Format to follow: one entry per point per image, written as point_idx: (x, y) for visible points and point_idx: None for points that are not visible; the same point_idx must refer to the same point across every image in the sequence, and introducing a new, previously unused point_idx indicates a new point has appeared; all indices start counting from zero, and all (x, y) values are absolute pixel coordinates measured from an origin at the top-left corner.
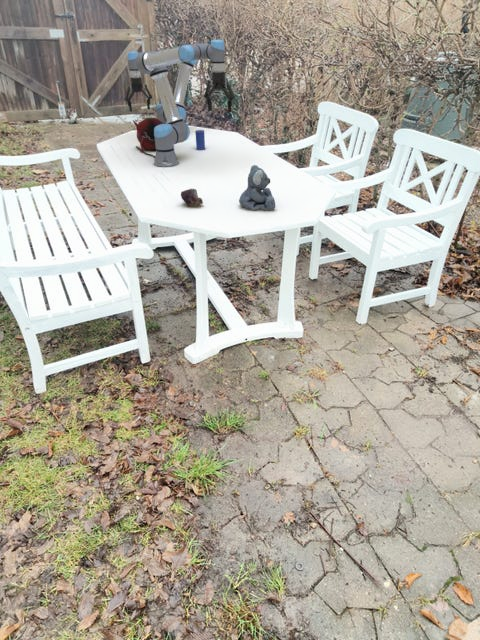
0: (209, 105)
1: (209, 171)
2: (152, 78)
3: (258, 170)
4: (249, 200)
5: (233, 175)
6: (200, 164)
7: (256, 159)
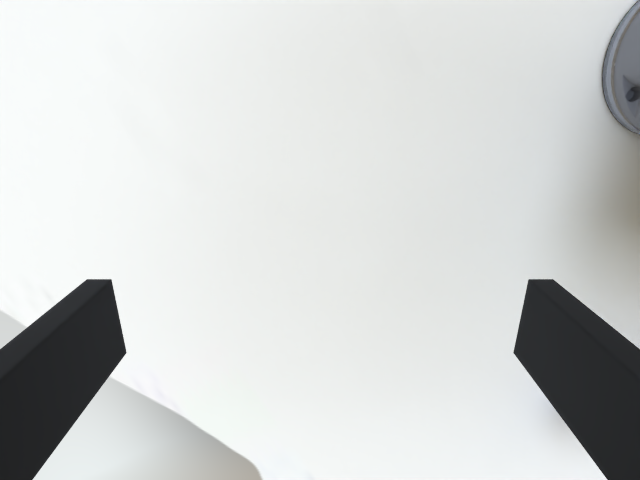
0: (591, 351)
1: (336, 33)
2: None
3: None
4: None
5: (159, 27)
6: (458, 144)
7: (225, 353)
